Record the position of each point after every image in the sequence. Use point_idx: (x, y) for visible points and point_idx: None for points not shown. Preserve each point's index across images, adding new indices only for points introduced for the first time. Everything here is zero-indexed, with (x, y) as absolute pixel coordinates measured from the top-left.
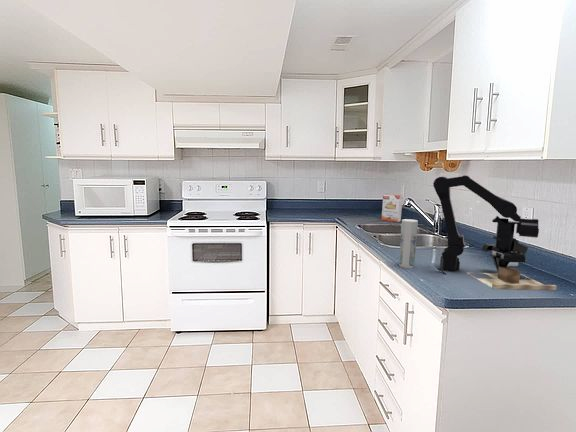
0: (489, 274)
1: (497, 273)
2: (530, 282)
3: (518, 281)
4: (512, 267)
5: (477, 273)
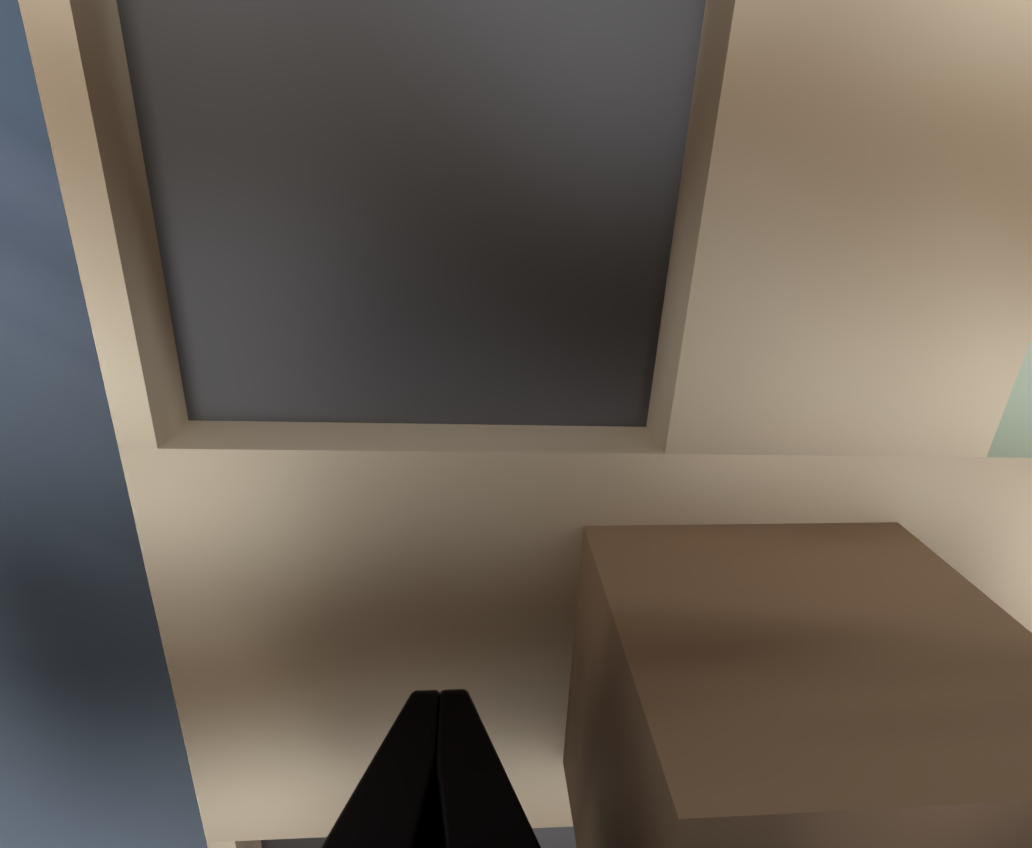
0: (296, 787)
1: (158, 600)
2: (961, 211)
3: (912, 554)
4: (759, 833)
5: (51, 803)
